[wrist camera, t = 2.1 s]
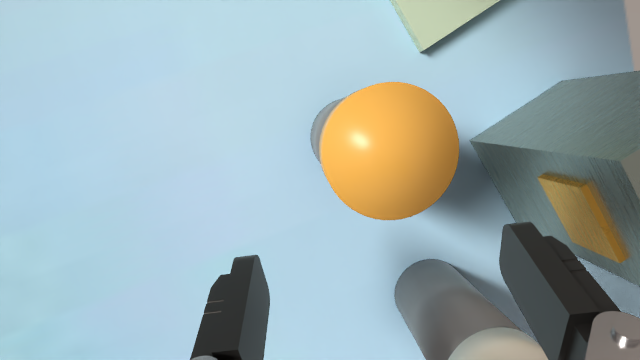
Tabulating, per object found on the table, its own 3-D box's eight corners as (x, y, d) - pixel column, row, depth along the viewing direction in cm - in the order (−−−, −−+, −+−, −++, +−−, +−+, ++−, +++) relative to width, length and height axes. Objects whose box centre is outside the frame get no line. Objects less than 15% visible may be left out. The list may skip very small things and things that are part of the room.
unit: (465, 143, 26) (627, 168, 13) (565, 78, 26) (824, 42, 13) (515, 229, 27) (705, 326, 15) (611, 168, 27) (887, 213, 14)
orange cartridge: (293, 125, 25) (295, 132, 14) (360, 80, 25) (415, 53, 14) (336, 191, 26) (369, 245, 15) (401, 148, 26) (483, 172, 15)
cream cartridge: (379, 283, 27) (438, 396, 16) (442, 243, 27) (544, 330, 16) (416, 339, 28) (496, 482, 17) (477, 301, 28) (597, 420, 17)
